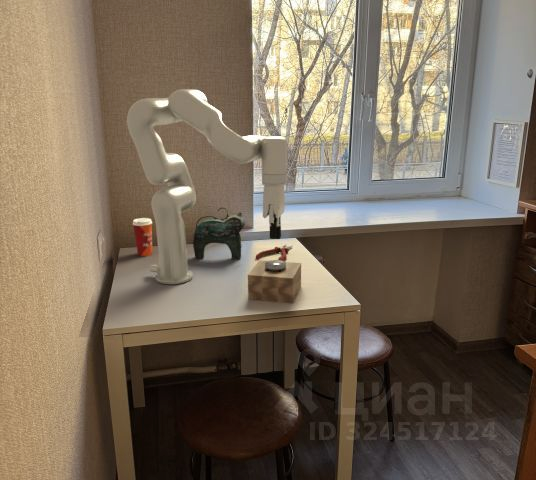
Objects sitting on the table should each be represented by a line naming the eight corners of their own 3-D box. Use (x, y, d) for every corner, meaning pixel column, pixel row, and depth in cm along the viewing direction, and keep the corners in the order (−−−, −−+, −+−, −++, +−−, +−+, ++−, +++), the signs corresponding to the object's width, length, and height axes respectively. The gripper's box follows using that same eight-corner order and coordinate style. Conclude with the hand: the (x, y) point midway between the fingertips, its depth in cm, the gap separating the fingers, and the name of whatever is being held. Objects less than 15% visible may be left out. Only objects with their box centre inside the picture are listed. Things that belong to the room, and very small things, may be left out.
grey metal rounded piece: (263, 291, 154) (262, 266, 152) (268, 284, 161) (267, 259, 158) (283, 293, 153) (283, 267, 150) (287, 285, 159) (287, 260, 157)
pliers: (302, 249, 200) (302, 243, 200) (281, 265, 183) (281, 258, 182) (276, 246, 205) (276, 240, 205) (254, 260, 188) (254, 254, 187)
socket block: (248, 299, 152) (247, 274, 149) (259, 282, 165) (259, 260, 162) (292, 303, 148) (292, 278, 146) (301, 286, 161) (301, 263, 159)
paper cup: (150, 257, 192) (147, 222, 188) (132, 256, 193) (128, 222, 189) (157, 251, 200) (155, 217, 196) (140, 250, 201) (137, 217, 197)
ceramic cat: (246, 256, 192) (244, 206, 187) (243, 261, 186) (242, 209, 180) (196, 255, 194) (193, 205, 189) (192, 260, 188) (189, 209, 182)
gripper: (268, 174, 154) (269, 231, 159) (255, 183, 140) (257, 244, 145) (291, 175, 152) (292, 232, 157) (281, 183, 138) (282, 245, 143)
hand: (275, 238), depth 151 cm, fingers closed
